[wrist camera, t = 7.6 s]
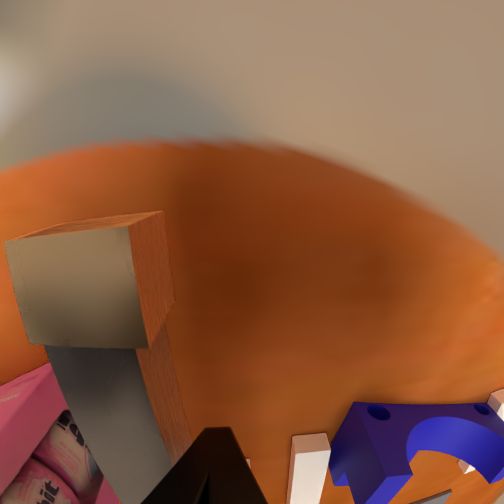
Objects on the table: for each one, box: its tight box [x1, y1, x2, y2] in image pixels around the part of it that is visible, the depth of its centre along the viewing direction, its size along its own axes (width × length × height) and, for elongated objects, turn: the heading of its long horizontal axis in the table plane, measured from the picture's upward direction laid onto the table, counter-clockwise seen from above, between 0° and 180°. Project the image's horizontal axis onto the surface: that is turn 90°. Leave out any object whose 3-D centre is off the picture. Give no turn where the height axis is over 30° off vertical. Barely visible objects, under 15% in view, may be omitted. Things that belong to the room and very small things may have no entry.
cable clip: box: [328, 402, 504, 504], centre depth 14 cm, size 12×4×6 cm, turn 76°
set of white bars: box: [246, 388, 504, 504], centre depth 17 cm, size 8×24×2 cm, turn 91°
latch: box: [4, 210, 193, 504], centre depth 10 cm, size 3×19×9 cm, turn 4°
